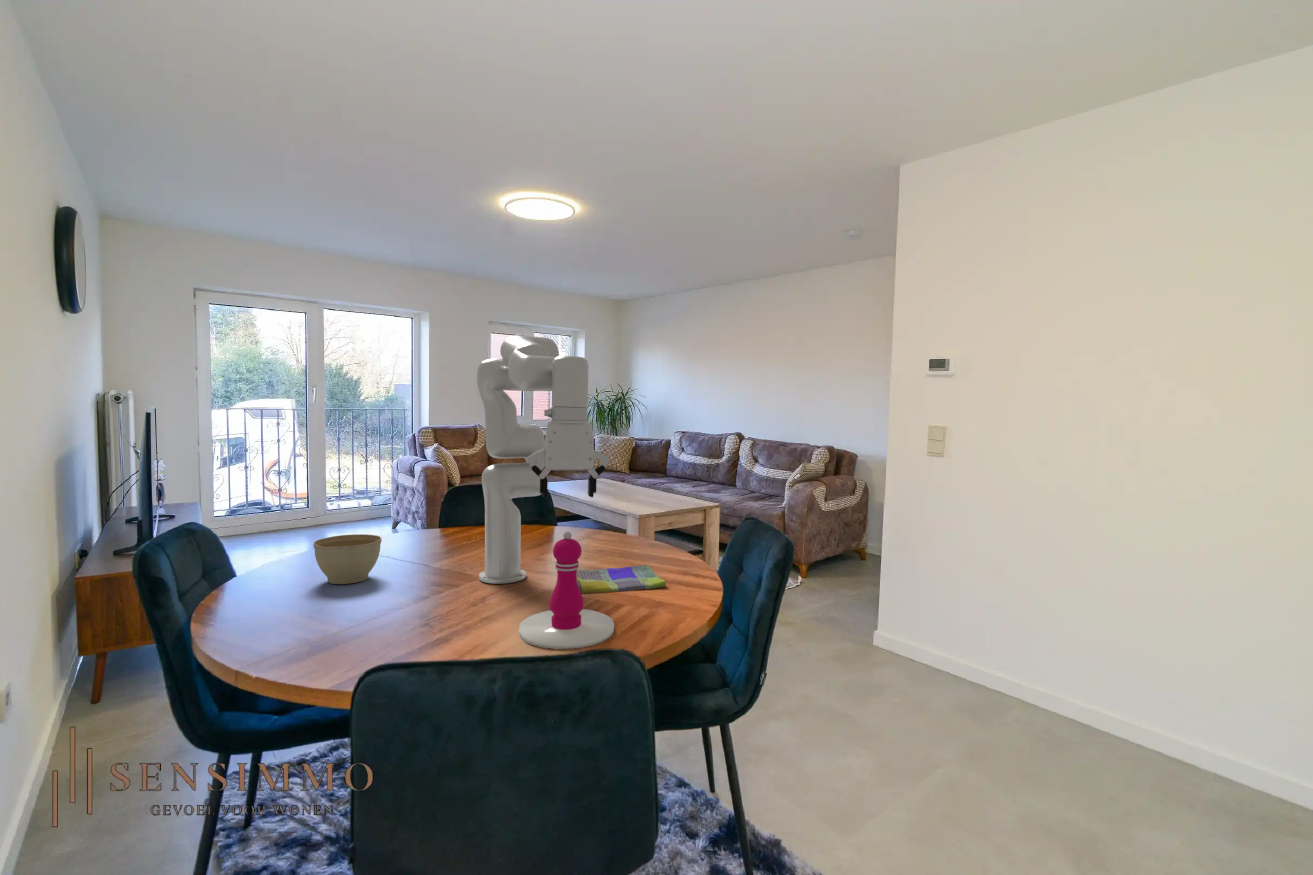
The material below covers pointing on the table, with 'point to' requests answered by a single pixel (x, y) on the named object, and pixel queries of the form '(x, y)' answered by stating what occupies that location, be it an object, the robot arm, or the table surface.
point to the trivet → (566, 631)
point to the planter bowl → (347, 557)
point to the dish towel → (618, 579)
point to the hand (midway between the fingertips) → (568, 496)
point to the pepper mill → (566, 585)
